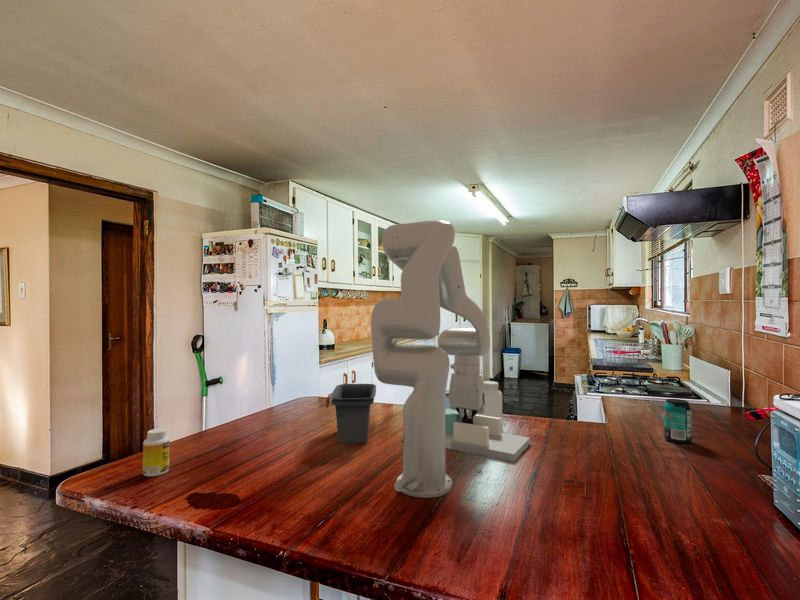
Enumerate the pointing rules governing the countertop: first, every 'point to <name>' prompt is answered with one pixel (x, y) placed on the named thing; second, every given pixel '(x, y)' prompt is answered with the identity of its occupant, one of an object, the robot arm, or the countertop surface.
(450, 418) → the teal block
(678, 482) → the countertop surface
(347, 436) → the storage bin
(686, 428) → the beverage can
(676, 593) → the countertop surface
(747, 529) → the countertop surface
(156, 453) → the supplement bottle
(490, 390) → the pill bottle
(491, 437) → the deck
